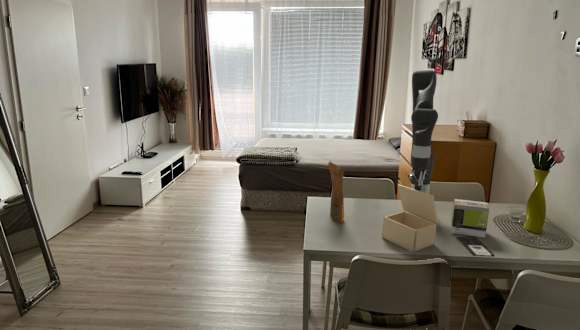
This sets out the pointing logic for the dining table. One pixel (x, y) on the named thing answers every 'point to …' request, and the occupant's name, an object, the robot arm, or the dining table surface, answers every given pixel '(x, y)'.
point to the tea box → (469, 218)
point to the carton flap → (418, 203)
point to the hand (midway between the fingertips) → (417, 192)
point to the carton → (409, 231)
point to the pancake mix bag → (337, 193)
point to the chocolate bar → (475, 246)
